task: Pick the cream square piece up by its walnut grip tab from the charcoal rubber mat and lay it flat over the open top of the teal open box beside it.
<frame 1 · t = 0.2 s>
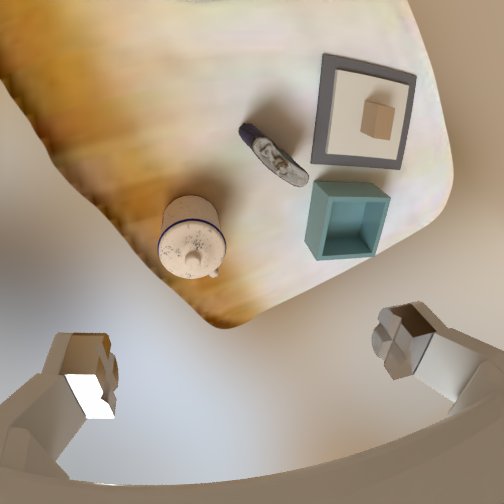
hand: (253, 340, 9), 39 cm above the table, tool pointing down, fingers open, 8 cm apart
cream square piece: (368, 116, 44), resting on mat
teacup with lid: (194, 226, 50), on the table
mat: (366, 115, 45), on the table
flask: (263, 145, 45), on the table
teal open box: (338, 211, 53), on the table
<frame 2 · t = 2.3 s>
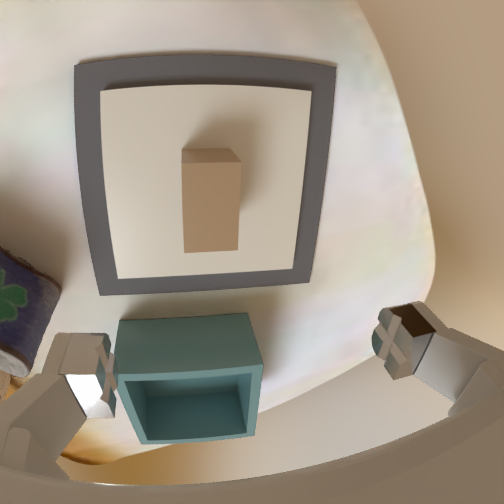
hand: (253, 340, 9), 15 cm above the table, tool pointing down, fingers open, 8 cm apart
cream square piece: (204, 183, 21), resting on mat
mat: (204, 181, 21), on the table
flask: (16, 267, 21), on the table
teal open box: (187, 361, 29), on the table
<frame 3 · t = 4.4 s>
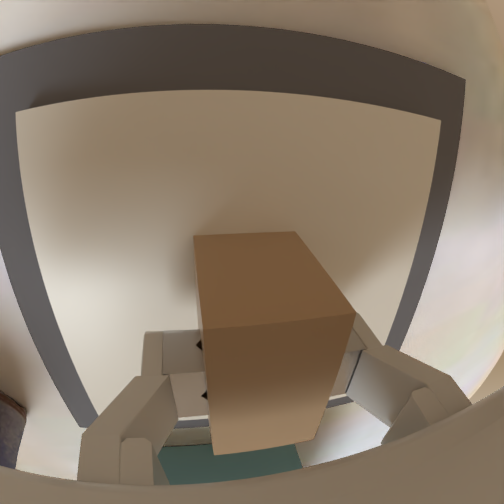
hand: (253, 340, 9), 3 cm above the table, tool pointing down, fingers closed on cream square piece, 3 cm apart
cream square piece: (238, 290, 11), resting on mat, touching gripper
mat: (236, 282, 12), on the table
teal open box: (206, 477, 19), on the table
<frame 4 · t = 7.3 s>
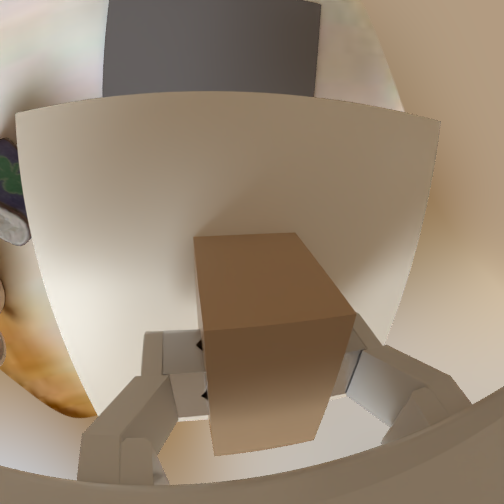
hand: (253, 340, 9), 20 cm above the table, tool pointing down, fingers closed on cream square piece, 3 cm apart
cream square piece: (238, 291, 11), point 17 cm above the table, touching gripper
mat: (209, 86, 23), on the table
flask: (30, 169, 22), on the table
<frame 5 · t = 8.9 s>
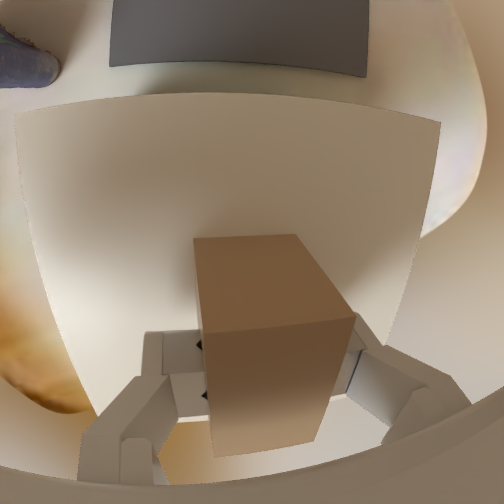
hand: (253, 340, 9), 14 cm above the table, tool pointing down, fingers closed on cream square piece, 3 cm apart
cream square piece: (238, 292, 11), point 12 cm above the table, touching gripper
flask: (15, 53, 14), on the table
when the fingers open (10 cm above the table, at t = 10.3 s): cream square piece drops 1 cm, resting on teal open box.
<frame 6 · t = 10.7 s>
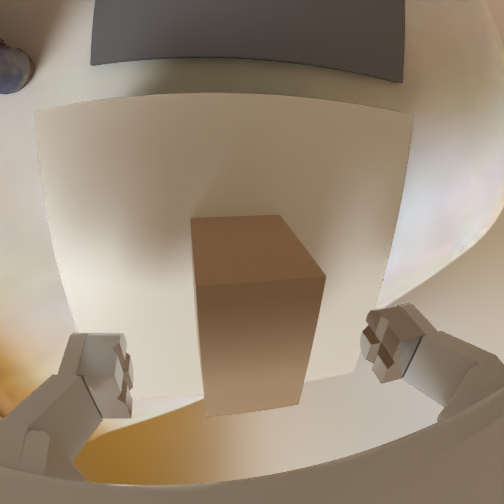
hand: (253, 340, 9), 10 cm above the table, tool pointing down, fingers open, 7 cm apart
cream square piece: (231, 270, 12), point 6 cm above the table, touching teal open box
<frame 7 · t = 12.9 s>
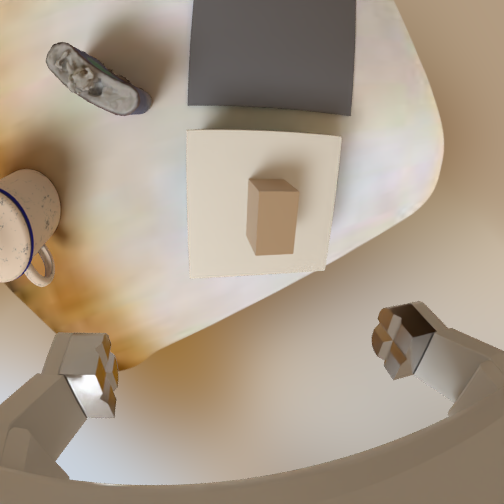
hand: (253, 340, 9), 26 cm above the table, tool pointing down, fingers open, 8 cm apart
cream square piece: (262, 204, 28), point 6 cm above the table, touching teal open box
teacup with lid: (36, 216, 30), on the table
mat: (277, 30, 26), on the table
flask: (113, 85, 26), on the table
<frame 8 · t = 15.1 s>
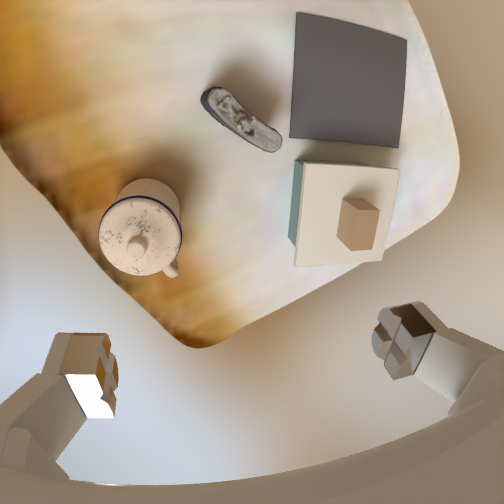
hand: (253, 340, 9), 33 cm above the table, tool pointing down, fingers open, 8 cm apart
cream square piece: (346, 215, 39), point 6 cm above the table, touching teal open box
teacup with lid: (153, 218, 41), on the table
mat: (353, 82, 37), on the table
flask: (231, 116, 37), on the table
teal open box: (328, 199, 44), on the table
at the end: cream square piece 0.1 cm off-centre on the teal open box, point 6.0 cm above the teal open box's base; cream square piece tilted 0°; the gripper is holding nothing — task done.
